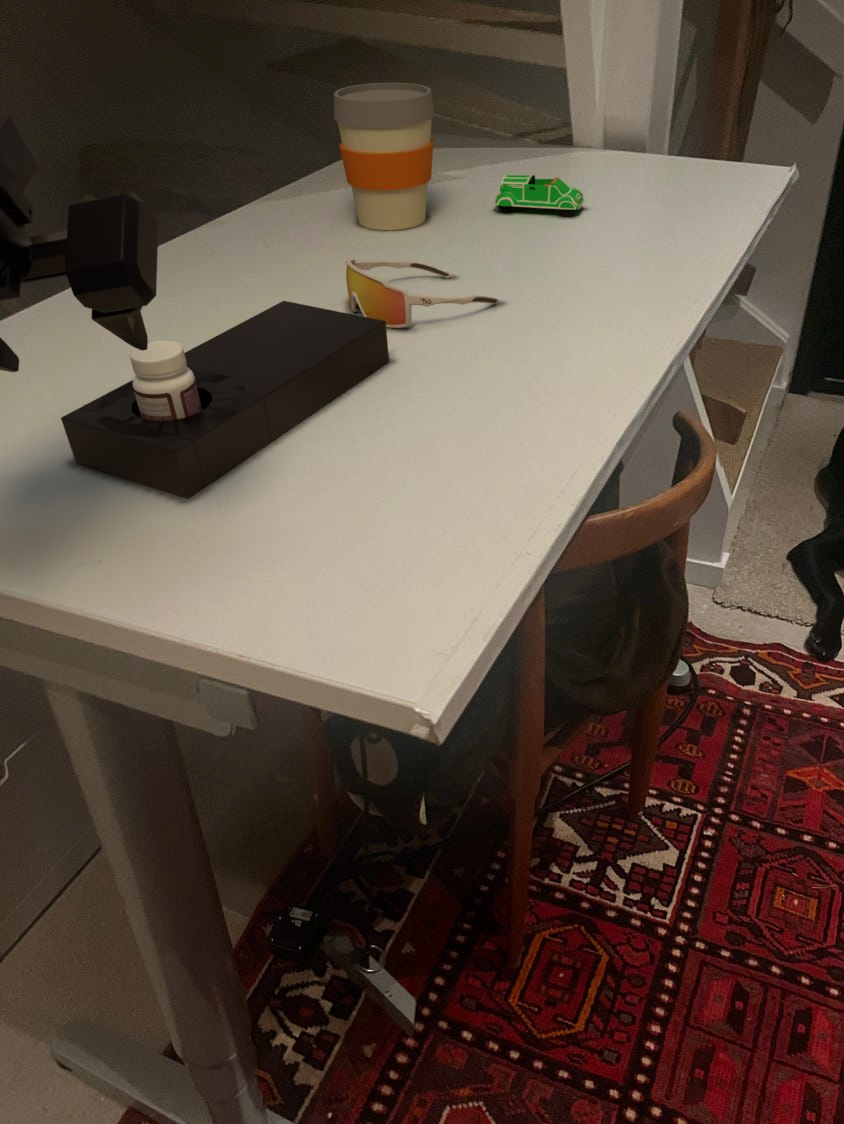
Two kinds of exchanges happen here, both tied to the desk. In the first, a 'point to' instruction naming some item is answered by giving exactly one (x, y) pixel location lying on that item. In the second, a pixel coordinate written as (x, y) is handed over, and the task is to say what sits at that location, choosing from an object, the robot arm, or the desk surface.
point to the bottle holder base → (232, 397)
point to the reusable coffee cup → (386, 151)
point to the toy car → (537, 194)
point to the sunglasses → (393, 293)
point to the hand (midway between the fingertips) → (80, 354)
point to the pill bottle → (164, 382)
